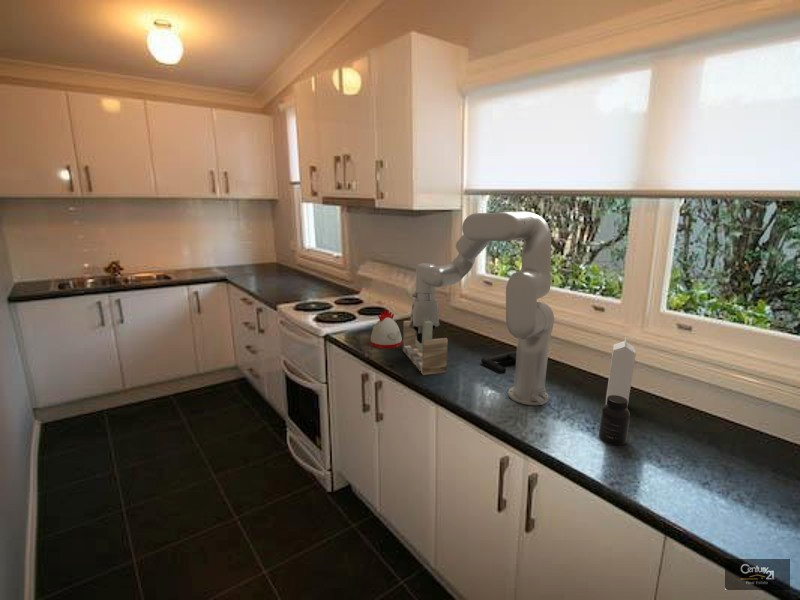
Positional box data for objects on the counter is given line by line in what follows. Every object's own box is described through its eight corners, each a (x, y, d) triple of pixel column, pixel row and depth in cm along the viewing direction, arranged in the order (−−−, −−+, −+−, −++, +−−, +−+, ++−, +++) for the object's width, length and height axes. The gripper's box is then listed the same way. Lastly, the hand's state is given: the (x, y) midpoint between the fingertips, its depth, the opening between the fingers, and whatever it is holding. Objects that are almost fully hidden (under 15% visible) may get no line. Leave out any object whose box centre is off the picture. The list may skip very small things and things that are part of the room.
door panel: (431, 355, 162) (432, 322, 158) (423, 356, 161) (424, 323, 158) (421, 345, 173) (422, 314, 170) (414, 345, 172) (414, 314, 169)
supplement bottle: (601, 429, 119) (607, 390, 116) (628, 438, 115) (635, 398, 112) (594, 440, 114) (600, 399, 111) (622, 449, 110) (629, 407, 107)
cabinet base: (446, 372, 157) (447, 339, 154) (423, 374, 154) (424, 341, 151) (423, 348, 181) (424, 319, 178) (403, 350, 179) (403, 320, 176)
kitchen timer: (364, 342, 188) (364, 309, 185) (388, 336, 197) (388, 304, 194) (383, 350, 178) (383, 316, 175) (408, 344, 187) (408, 311, 183)
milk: (605, 407, 132) (614, 340, 127) (605, 399, 138) (614, 334, 133) (627, 411, 130) (637, 343, 125) (626, 403, 135) (636, 337, 130)
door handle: (546, 363, 162) (515, 347, 175) (507, 372, 152) (478, 355, 166) (544, 371, 163) (514, 355, 176) (506, 381, 153) (477, 363, 167)
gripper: (407, 299, 156) (406, 346, 160) (448, 297, 160) (446, 343, 165) (402, 294, 163) (401, 340, 167) (441, 293, 167) (439, 337, 172)
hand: (423, 341), depth 166 cm, fingers closed on door panel, 2 cm apart
